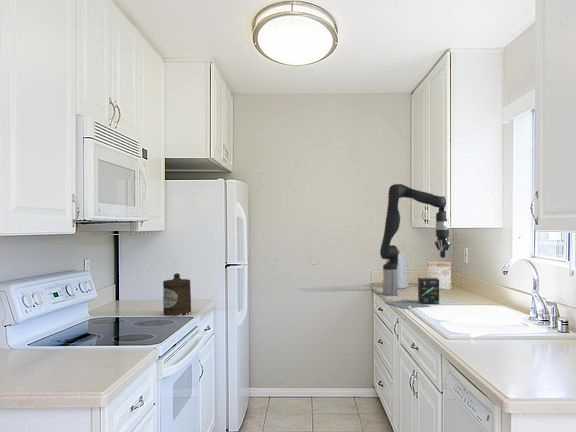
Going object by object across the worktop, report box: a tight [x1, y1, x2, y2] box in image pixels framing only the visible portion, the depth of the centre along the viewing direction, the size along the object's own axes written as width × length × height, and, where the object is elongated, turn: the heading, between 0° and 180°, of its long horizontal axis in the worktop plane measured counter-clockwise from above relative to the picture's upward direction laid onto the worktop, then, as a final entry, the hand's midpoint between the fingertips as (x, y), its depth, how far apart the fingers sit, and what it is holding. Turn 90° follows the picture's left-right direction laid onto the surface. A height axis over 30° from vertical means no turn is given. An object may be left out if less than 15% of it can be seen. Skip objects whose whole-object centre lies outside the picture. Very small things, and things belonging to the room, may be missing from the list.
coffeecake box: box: [427, 261, 452, 291], centre depth 339 cm, size 15×7×20 cm, turn 58°
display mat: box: [383, 300, 432, 310], centre depth 273 cm, size 22×18×1 cm
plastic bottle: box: [385, 249, 409, 290], centre depth 347 cm, size 15×15×28 cm
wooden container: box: [162, 273, 192, 316], centre depth 255 cm, size 15×15×22 cm
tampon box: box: [417, 277, 440, 305], centre depth 278 cm, size 11×9×15 cm
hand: (442, 257), depth 282 cm, fingers closed
